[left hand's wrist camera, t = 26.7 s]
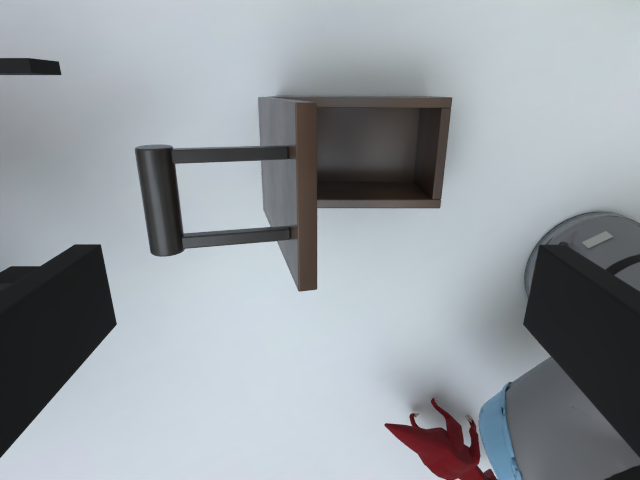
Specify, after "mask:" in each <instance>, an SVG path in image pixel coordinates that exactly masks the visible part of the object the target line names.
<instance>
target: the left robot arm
mask: <svg viewBox="0 0 640 480" xmlns="http://www.w3.org/2000/svg"><path fill="white" fill-rule="evenodd" d="M525 289H526V293H527V296H528V303H527V308H526V313H525V318H524V323H523V325H524V326H525V327H526V328H527V329H528V330H529V331H530V333H531V334H532V335H533V336H534V337H535V338H536V339H537V341H538V342H539V343H540V344H541V345H542V346H543V348H544V349H545V350H546V351H547V352H548V353H549V354H550V356H551V357H550V358H548V359H547V360H545V361H544V362H542V363H541V364H539V365H538V366H536V367H535V368H533V369H532V370H530V371H529V372H527V373H526V374H524V375H523V376H521V377H520V378H518V379H516V380H515V381H513V382H509V383H507V384H506V385H505V386H504V387H503V390H502V391H500V392H499V393H498V394H496V395H495V396H494V397H492V398H491V399H490V400H488V401H487V402H486V403H485V404H484V405H483V406H482V408H481V410H480V414H479V430H480V435H481V439H482V442H483V445H484V448H485V451H486V453H487V456H488V458H489V461H490V463H491V465H492V467H493V469H494V472H495V474H496V476H497V478H498V480H640V224H639V223H638V222H636V221H634V220H631V219H629V218H626V217H624V216H621V215H618V214H614V213H608V212H593V213H587V214H583V215H579V216H576V217H573V218H571V219H569V220H567V221H565V222H563V223H561V224H560V225H558V226H556V227H555V228H554V229H552V230H551V231H550V232H549V233H548V234H546V235H545V236H544V238H543V239H542V240H541V241H540V242H539V243H538V244H537V246H536V247H535V249H534V250H533V252H532V254H531V256H530V258H529V260H528V263H527V266H526V271H525ZM116 325H117V323H116V318H115V313H114V308H113V303H112V298H111V293H110V289H109V284H108V279H107V274H106V269H105V264H104V259H103V254H102V249H101V245H74V246H72V247H70V248H69V249H67V250H66V251H64V252H62V253H61V254H59V255H58V256H56V257H54V258H53V259H51V260H50V261H48V262H46V263H45V264H43V265H42V266H40V267H38V268H37V269H35V270H34V271H32V272H30V273H29V274H27V275H26V276H24V277H22V278H21V279H19V280H18V281H16V282H14V283H13V284H11V285H10V286H8V287H7V288H5V289H3V290H2V291H0V458H1V457H2V455H3V454H4V453H5V452H6V451H7V450H8V449H9V447H10V446H11V445H12V444H13V443H14V442H15V440H16V439H17V438H18V437H19V436H20V435H21V434H22V432H23V431H24V430H25V429H26V428H27V427H28V426H29V424H30V423H31V422H32V421H33V420H34V419H35V418H36V416H37V415H38V414H39V413H40V412H41V411H42V409H43V408H44V407H45V406H46V405H47V404H48V403H49V401H50V400H51V399H52V398H53V397H54V396H55V395H56V393H57V392H58V391H59V390H60V389H61V388H62V387H63V385H64V384H65V383H66V382H67V381H68V380H69V379H70V377H71V376H72V375H73V374H74V373H75V372H76V370H77V369H78V368H79V367H80V366H81V365H82V364H83V362H84V361H85V360H86V359H87V358H88V357H89V356H90V354H91V353H92V352H93V351H94V350H95V349H96V348H97V346H98V345H99V344H100V343H101V342H102V341H103V339H104V338H105V337H106V336H107V335H108V334H109V333H110V331H111V330H112V329H113V328H114V327H115V326H116Z"/></svg>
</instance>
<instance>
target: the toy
mask: <svg viewBox="0 0 640 480" xmlns="http://www.w3.org/2000/svg"><path fill="white" fill-rule="evenodd" d="M437 400H438V398H437V399H435V398H432V400H431V403H432V405H433V406H434V407H435V409H436V410H438V411H439V412H440V413H441V414H442V415H443V416H444V417H445V419H446V426H447V431H446V430H444V429H443V428H432V429H423V428H420V427H418V425H417V424H416V423H415V420H414V417H417V415H419V414H417V413H412V414H410V421H411V424H412V426H407V425H400V424H387V423H386V424H385V427H386V428H388V429H389V430H390V431H391V432H392V433H393V434H394V435H395V436H396V437H397V438H398V439H399V440H400V441H401V442H403V443H404V444H405V445H406V446H408V447H409V448H410V449H412V450H413V451H414V452H416V453H417V454H418V455H419V457H420V458H421V460H422V462H423V463H424V465H426V466H427V467H428V468H429V469H430V470H431V471H432V472H433V473H434V474H435V475H437V476H438V477H441V478H443V479H446V480H455V479H457V478H459V479H461V480H498V479H496V477H495V476H494V473H493V472H492V470H491V469H489V470H487V471H485V472H484V473H483V472H482V471H481V470H480V468H479V467H478V466H477V465H478V464H479V460H480V449H479V441H478V434H477V432H476V425H475V423H474V421H473V419H472V418H471V417H470V416H469V415H468V418H469V419H470V420H471V422H472V423H471V422H470V420H469V419H468V418H467V417H466V418H467V420H468V421H469V423H470V425H471V428H470V429H469V433H470V436H471V446H470V447H468V446H466V445H465V444H464V439H463V433H462V427H461V425H460V424H459V423H458V422H457V421H456V420H455V419H454V418H453V417H452V416H451V415H449V414H448V413H447V412H446V411H444V410H443V409H441V408H440V407H439V406H438V405H437V404H436V403H435V402H437Z"/></svg>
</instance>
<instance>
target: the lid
mask: <svg viewBox="0 0 640 480" xmlns="http://www.w3.org/2000/svg"><path fill="white" fill-rule="evenodd" d="M258 106H259V127H260V146H243V147H208V148H173V147H172V146H170V145H145V146H139V147H136V148H135V154H136V161H137V167H138V174H139V180H140V187H141V193H142V200H143V206H144V213H145V219H146V226H147V232H148V239H149V245H150V252H151V253H152V254H153V255H155V256H172V255H176V254H179V253H181V252H183V251H184V250H185V249H186V248H198V247H210V246H222V245H234V244H246V243H258V242H270V241H277V242H278V245H279V247H280V249H281V252H282V254H283V256H284V258H285V261H286V263H287V265H288V268H289V270H290V272H291V275H292V277H293V279H294V282H295V284H296V286H297V289H298V291H308V290H316V289H317V103H316V102H309V101H300V100H291V99H282V98H273V97H258ZM260 160H261V169H262V190H263V210H264V212H265V214H266V217H267V219H268V221H269V224H270V226H271V227H266V228H252V229H239V230H225V231H212V232H199V233H185V234H184V233H183V225H182V217H181V209H180V201H179V192H178V184H177V176H176V168H175V164H178V163H205V162H232V161H260Z"/></svg>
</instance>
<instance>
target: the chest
mask: <svg viewBox="0 0 640 480" xmlns="http://www.w3.org/2000/svg"><path fill="white" fill-rule="evenodd" d="M271 97H273V98H282V99H291V100H300V101H309V102H316V103H317V208H440V204H441V200H440V199H441V195H442V186H443V177H444V168H445V158H446V149H447V140H448V131H449V122H450V113H451V104H452V98H451V97H431V96H271Z"/></svg>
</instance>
